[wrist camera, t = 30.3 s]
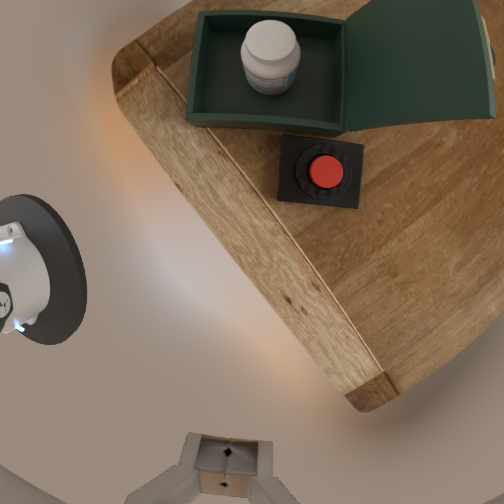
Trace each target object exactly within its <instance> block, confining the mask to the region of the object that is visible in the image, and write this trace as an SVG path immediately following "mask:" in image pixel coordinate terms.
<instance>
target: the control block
mask: <svg viewBox="0 0 504 504" xmlns="http://www.w3.org/2000/svg"><path fill="white" fill-rule="evenodd" d="M363 149H364V145H360V144H354V143H348V142H341V141H334V140H327V139H319V138H311V137H302V136H293V135H282V140H281V154H280V167H279V180H278V193H277V200H278V201H285V202H296V203H306V204H316V205H326V206H335V207H344V208H353V209H358V205H359V196H360V186H361V175H362V163H363ZM324 155H328V156H332V157H334V158H336V159H337V160H338V161H339V162H340V164H341V166H342V169H343V176H342V179H341V181H340V182H339V183H338V184H337V185H336V186H334V187H331V188H324V187H320V186H318V185H316V184H315V183H313V181H312V180H311V178H310V176H309V167H310V164H311V163H312V161H313V160H314V159H316V158H317V157H320V156H324Z"/></svg>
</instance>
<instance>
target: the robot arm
mask: <svg viewBox="0 0 504 504" xmlns="http://www.w3.org/2000/svg"><path fill="white" fill-rule="evenodd" d="M49 297H50V281H49V275H48V271H47V268H46V265H45V263H44V260H43V258H42V256H41V254H40V253H39V251H38V249H37V248H36V247H35V245H34V244H33V243H32V242H31V241H30V240H29V239H28V238H27V236H26V234H25V232H24V230H23V228H22V226H21V224H20V223H19V222H18V221H15V222H12V223H9V224H6V225H2V226H0V332H4V333H8V332H10V331H12V330H14V329H15V328H16V329H18V330H20V331H24V328H22V327H20V326H21V325H22V324H24V323H27V324H29V325H32V324H34V323H35V322H36V320H37V317H38V314H39V313H40V312H41V311H43V310H44V309H45V307H46V306H47V304H48V301H49ZM201 493H206V494H214V495H225V496H232V497H240V498H248V500H249V502H250V503H251V504H300V503H299V502H298V501H297V500H296V499H295V498H294V496H293V495H292V494H291V493H290V492H289V491H288V489H287V488H286V487H285V486H284V484H283V483H282V482H281V481H280V480H279V478H278V477H273V442H272V441H258V440H247V439H236V438H223V437H215V436H209V435H203V434H197V433H192V432H189V433H188V434H187V436H186V439H185V443H184V446H183V450H182V453H181V456H180V459H179V463H178V466H177V465H173V466H172V467H170V468H169V469H167V470H166V471H164V472H163V473H161V474H160V475H159V476H157V477H156V478H154V479H153V480H151V481H150V482H148V483H147V484H145V485H144V486H142V487H140V488H139V489H137V490H136V491H134V492H132V493H131V494H129V495H128V496H127V498H126V500H125V503H124V504H191V503H192V502H193V501H194V500H195V499H196V498H197V497H198V496H199V495H200V494H201ZM0 504H68V503H66V502H64V501H62V500H60V499H58V498H55V497H54V496H52V495H50V494H48V493H46V492H44V491H43V490H41V489H39V488H37V487H36V486H34V485H32V484H30V483H29V482H27V481H25V480H24V479H22V478H21V477H19V476H18V475H16V474H14V473H13V472H11V471H10V470H8V469H7V468H5V467H4V466H3V465H1V464H0ZM484 504H504V493H503V494H501V495H499V496H498V497H496V498H494V499H492V500H490V501H488V502H486V503H484Z"/></svg>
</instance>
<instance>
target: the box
mask: <svg viewBox="0 0 504 504" xmlns="http://www.w3.org/2000/svg"><path fill="white" fill-rule="evenodd" d="M265 20H276V21H280V22H282V23H284V24H286V25H288V26H289V27H290V28H291V29H292V30H293V32H294V34H295V37H296V40H297V42H298V44H299V47H300V52H301V55H300V61H299V65H298V69H297V73H296V77H295V80H294V83H293V84H292V86H291V87H290V88H289V89H288V90H287V91H286V92H284V93H282V94H279V95H273V96H270V95H264V94H261V93H259V92H257V91H256V90H255V89H253V88H252V87H251V85H250V84H249V82H248V80H247V78H246V74H245V70H244V66H243V62H242V58H241V47H242V44H243V42H244V40H245V38H246V34H247V32H248V30H249V29H250V28H251V27H252V26H253V25H255V24H256V23H258V22H261V21H265ZM346 100H347V22H346V21H344V20H339V19H334V18H328V17H321V16H315V15H307V14H299V13H289V12H277V11H259V10H213V11H199V14H198V20H197V26H196V33H195V39H194V46H193V53H192V61H191V69H190V77H189V85H188V95H187V104H186V114H185V120H186V121H188V122H189V123H191V124H193V125H194V126H196V127H214V128H242V129H259V130H272V131H284V132H294V133H304V134H313V135H321V136H328V137H337V136H339V135H341V134H343V133H345V132H347V131H346V130H345V124H346Z"/></svg>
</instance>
